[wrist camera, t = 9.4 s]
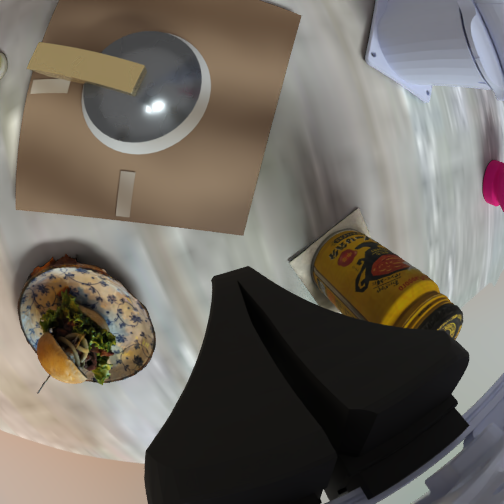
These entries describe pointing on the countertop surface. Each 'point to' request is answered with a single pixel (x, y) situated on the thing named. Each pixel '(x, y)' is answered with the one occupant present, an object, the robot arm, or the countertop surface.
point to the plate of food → (84, 323)
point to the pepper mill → (494, 184)
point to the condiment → (372, 281)
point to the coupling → (129, 82)
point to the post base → (174, 143)
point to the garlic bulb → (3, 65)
